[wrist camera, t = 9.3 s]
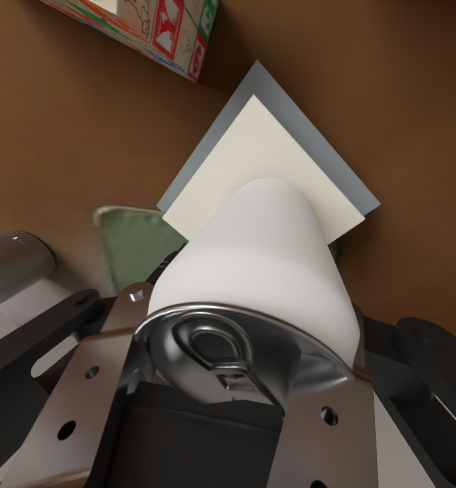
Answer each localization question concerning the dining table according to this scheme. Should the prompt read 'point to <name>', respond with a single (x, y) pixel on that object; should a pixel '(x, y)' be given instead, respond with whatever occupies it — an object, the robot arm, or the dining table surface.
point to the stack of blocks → (152, 27)
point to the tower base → (290, 125)
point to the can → (250, 302)
